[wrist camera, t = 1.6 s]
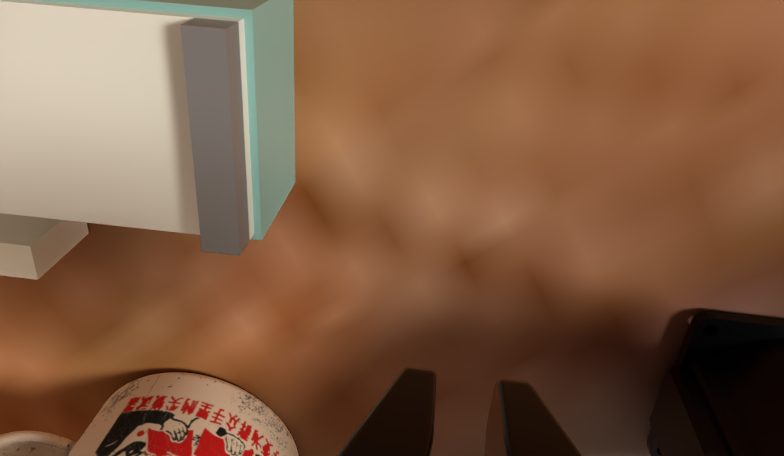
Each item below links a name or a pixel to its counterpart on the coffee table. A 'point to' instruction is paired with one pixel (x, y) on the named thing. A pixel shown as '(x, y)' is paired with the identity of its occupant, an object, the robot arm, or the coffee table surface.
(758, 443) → the robot arm
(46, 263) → the cream flat base plank
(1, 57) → the cabinet
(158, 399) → the white printed mug
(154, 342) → the coffee table surface
